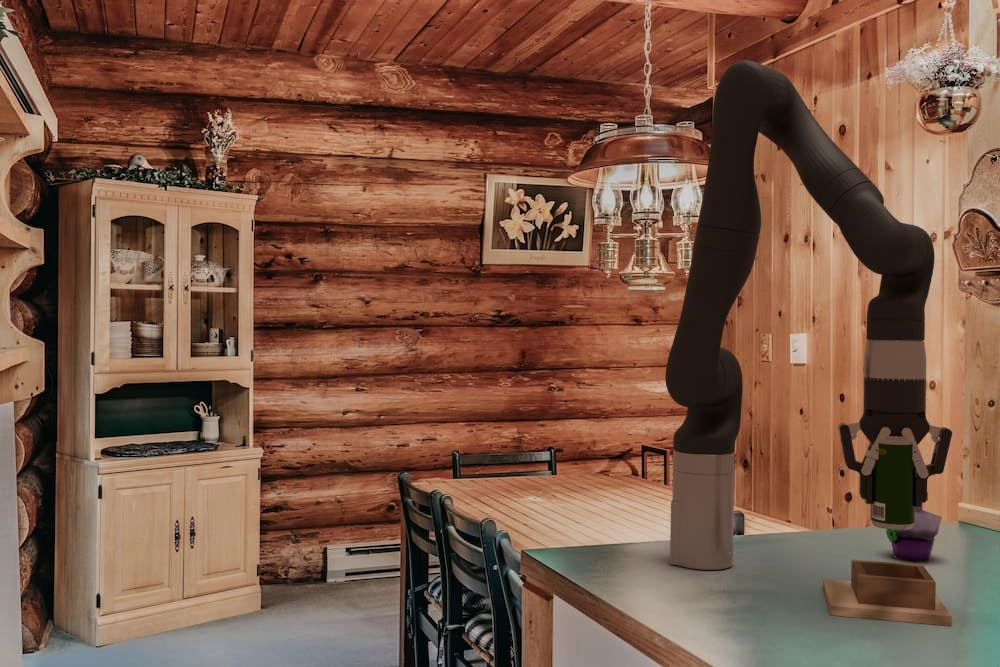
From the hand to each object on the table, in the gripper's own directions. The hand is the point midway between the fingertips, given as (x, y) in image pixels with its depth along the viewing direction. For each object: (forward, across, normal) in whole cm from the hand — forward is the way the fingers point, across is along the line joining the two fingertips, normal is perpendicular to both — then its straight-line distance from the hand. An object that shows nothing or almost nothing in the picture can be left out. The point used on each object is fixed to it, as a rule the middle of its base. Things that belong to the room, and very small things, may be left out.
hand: (892, 503), depth 122 cm
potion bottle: (+14, +7, +29) cm, 33 cm away
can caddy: (+13, 0, 0) cm, 13 cm away
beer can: (+3, 0, 0) cm, 3 cm away
